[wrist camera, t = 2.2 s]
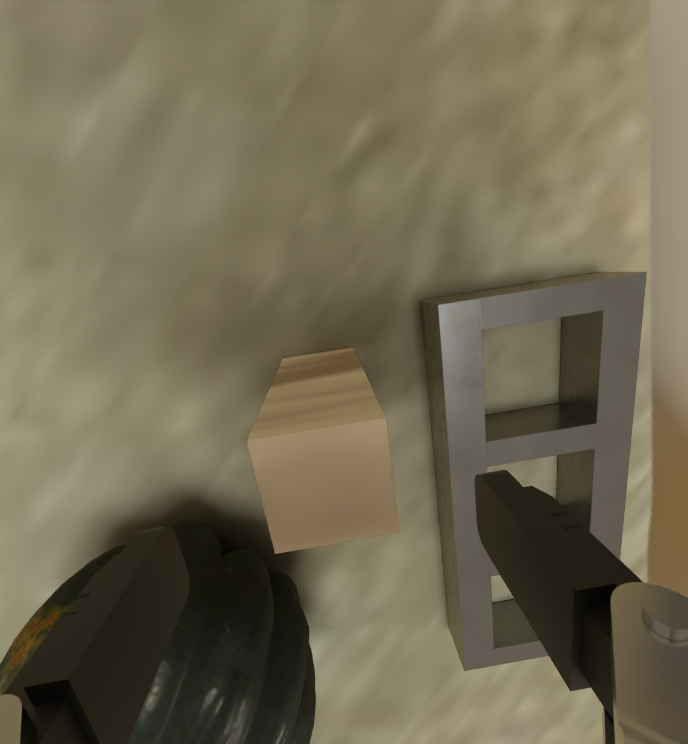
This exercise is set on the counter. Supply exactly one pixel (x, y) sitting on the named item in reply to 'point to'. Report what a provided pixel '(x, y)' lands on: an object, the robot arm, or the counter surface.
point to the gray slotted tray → (529, 433)
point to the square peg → (323, 454)
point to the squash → (212, 651)
